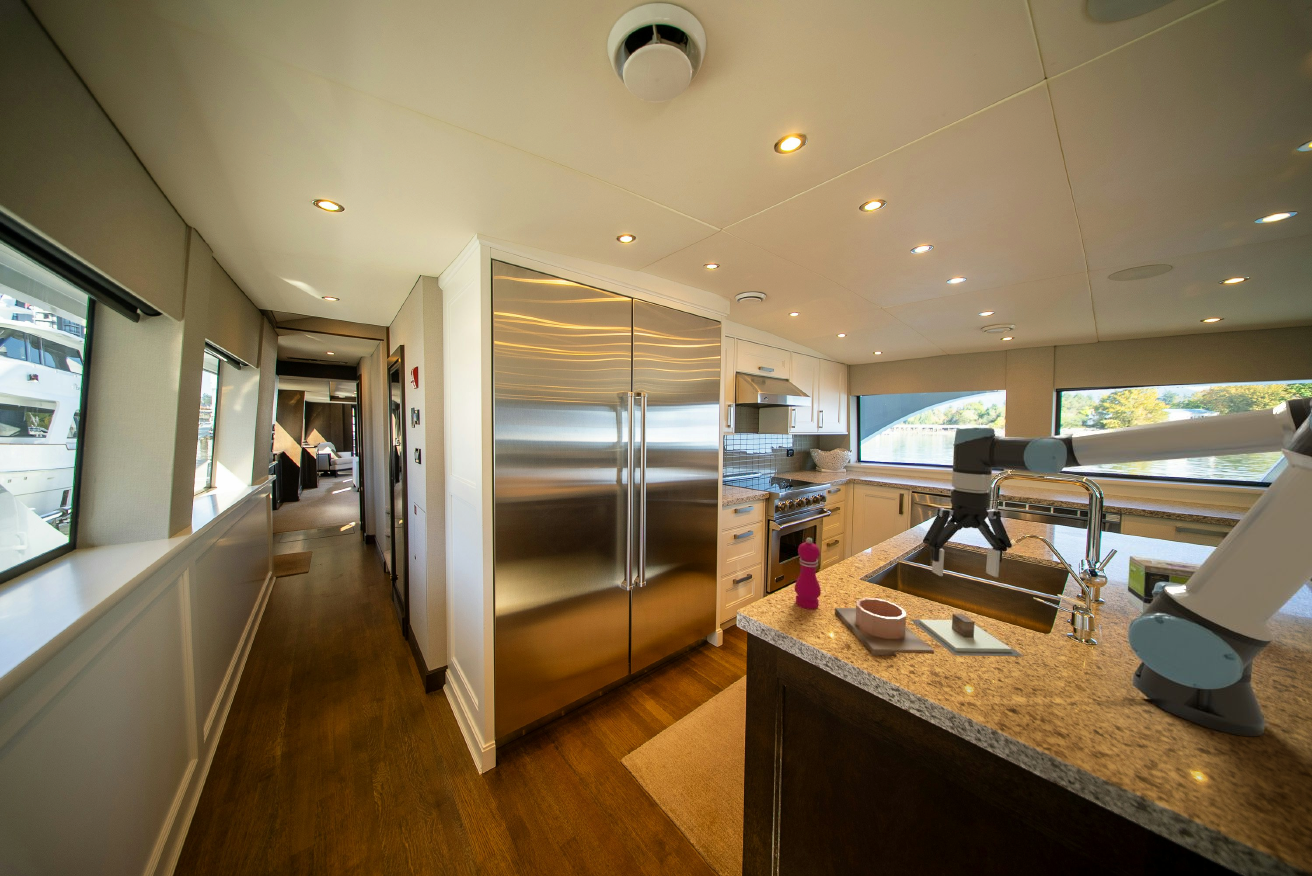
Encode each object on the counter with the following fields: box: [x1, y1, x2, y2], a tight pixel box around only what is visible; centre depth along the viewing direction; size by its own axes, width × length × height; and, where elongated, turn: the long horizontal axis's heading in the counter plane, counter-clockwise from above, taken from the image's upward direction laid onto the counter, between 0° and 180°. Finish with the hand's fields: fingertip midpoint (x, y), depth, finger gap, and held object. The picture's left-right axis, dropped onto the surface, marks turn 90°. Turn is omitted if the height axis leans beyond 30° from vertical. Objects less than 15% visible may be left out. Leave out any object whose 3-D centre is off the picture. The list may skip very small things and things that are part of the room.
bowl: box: [855, 597, 907, 639], centre depth 102 cm, size 11×11×5 cm
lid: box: [918, 613, 1013, 652], centre depth 99 cm, size 13×13×5 cm
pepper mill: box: [794, 537, 822, 610], centre depth 117 cm, size 7×7×20 cm
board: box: [834, 607, 935, 657], centre depth 102 cm, size 20×14×2 cm
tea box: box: [1127, 556, 1202, 614], centre depth 113 cm, size 15×10×15 cm, turn 58°
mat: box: [909, 618, 1024, 657], centre depth 99 cm, size 16×16×1 cm
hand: (964, 574), depth 98 cm, fingers open, 13 cm apart
